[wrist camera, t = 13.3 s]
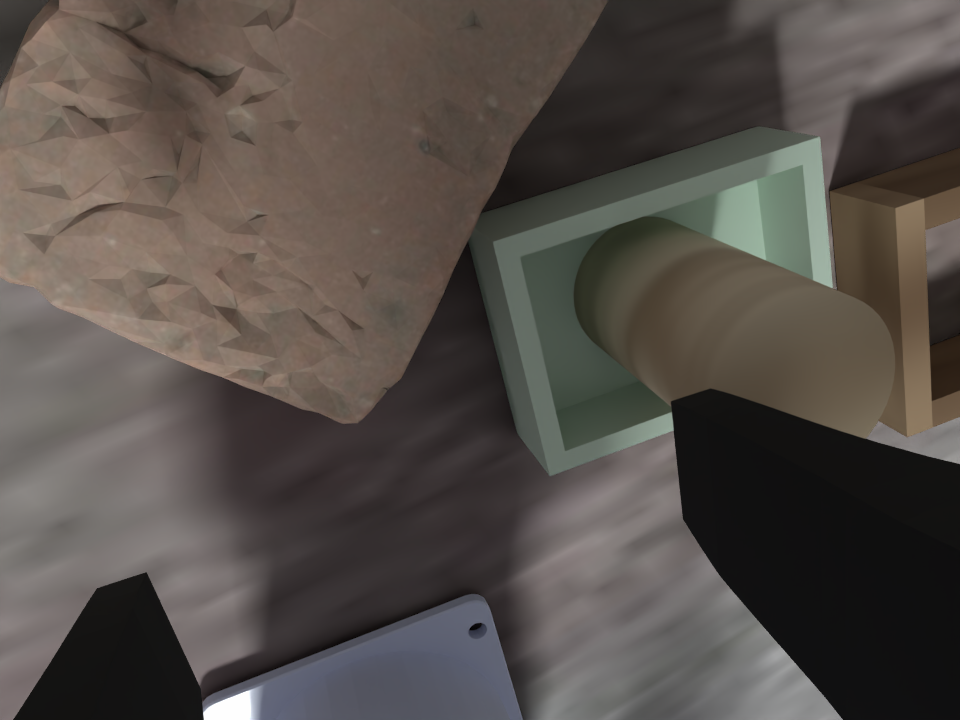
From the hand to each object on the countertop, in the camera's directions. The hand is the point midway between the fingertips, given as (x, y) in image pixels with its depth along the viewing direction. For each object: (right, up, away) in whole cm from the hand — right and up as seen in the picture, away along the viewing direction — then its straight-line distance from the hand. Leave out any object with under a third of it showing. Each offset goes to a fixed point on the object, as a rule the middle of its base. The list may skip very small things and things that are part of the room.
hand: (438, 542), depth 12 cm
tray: (+5, +4, +11) cm, 13 cm away
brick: (-2, +11, +7) cm, 13 cm away
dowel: (+5, +4, +10) cm, 12 cm away
